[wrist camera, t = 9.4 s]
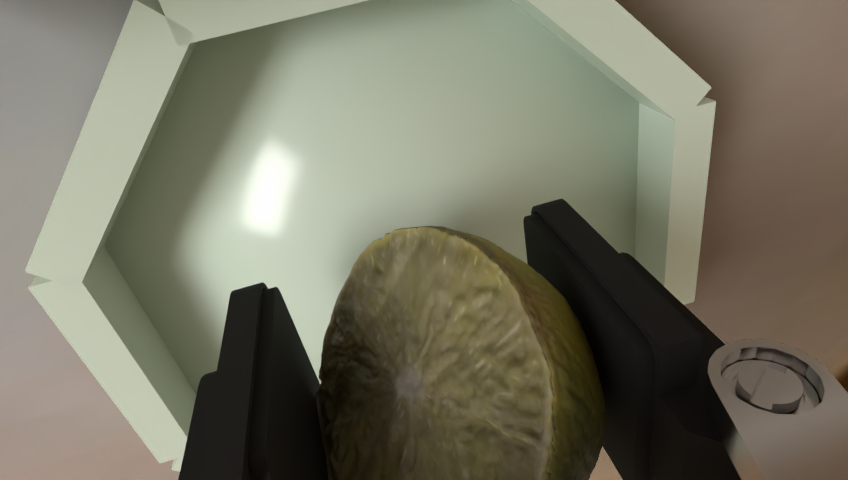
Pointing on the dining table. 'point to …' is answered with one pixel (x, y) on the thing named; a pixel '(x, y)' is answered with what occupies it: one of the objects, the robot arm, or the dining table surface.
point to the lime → (455, 367)
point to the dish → (347, 165)
